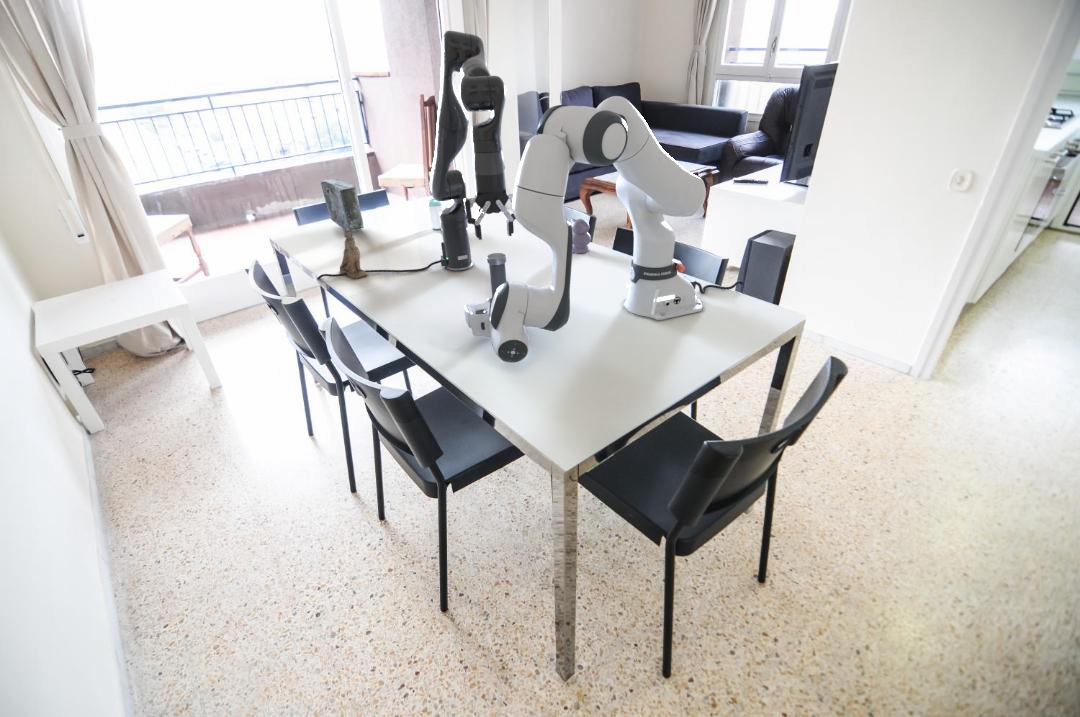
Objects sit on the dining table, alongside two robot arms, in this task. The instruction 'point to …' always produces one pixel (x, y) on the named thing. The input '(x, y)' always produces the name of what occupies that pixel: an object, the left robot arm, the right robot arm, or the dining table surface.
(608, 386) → the dining table surface
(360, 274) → the worn brown figurine
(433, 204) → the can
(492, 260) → the lid
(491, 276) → the grey cylinder
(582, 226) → the cat figurine
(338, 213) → the concrete block
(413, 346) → the dining table surface
